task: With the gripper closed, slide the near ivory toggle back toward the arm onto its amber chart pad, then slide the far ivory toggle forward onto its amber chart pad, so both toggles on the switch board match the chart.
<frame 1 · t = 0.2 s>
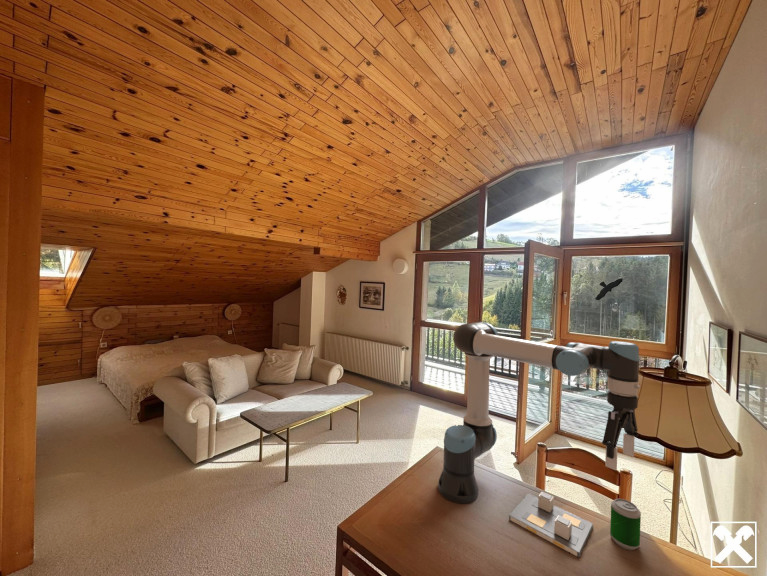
hand: (619, 461, 99), 27 cm above the table, fingers open, 13 cm apart
slider far: (545, 501, 114), point 4 cm above the table, slide at 0.0 cm
slider near: (563, 526, 101), point 4 cm above the table, slide at 8.0 cm
switch board: (550, 523, 108), on the table
soda can: (624, 542, 101), on the table
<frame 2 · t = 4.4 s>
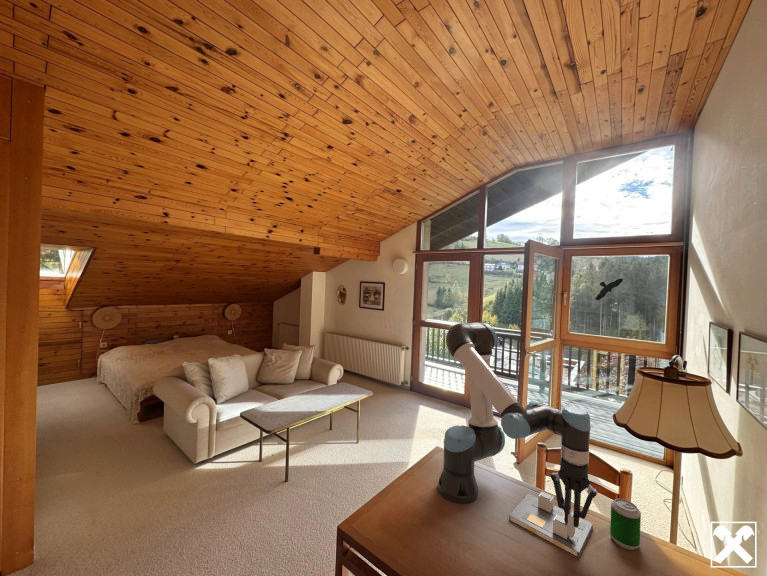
hand: (571, 534, 100), 3 cm above the table, fingers closed
slider near: (561, 526, 102), point 4 cm above the table, slide at 7.6 cm, touching gripper
everything else where it was.
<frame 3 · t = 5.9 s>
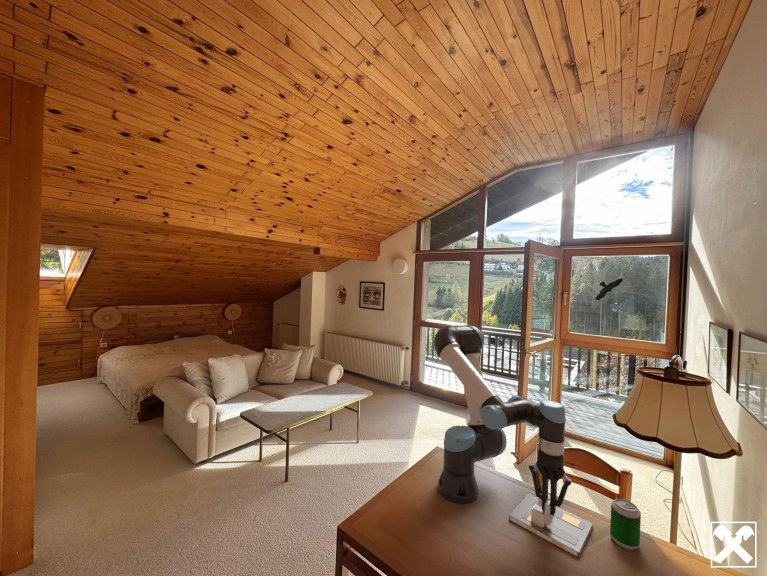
hand: (548, 522, 105), 3 cm above the table, fingers closed
slider near: (539, 515, 107), point 4 cm above the table, slide at 0.8 cm
everything else where it was.
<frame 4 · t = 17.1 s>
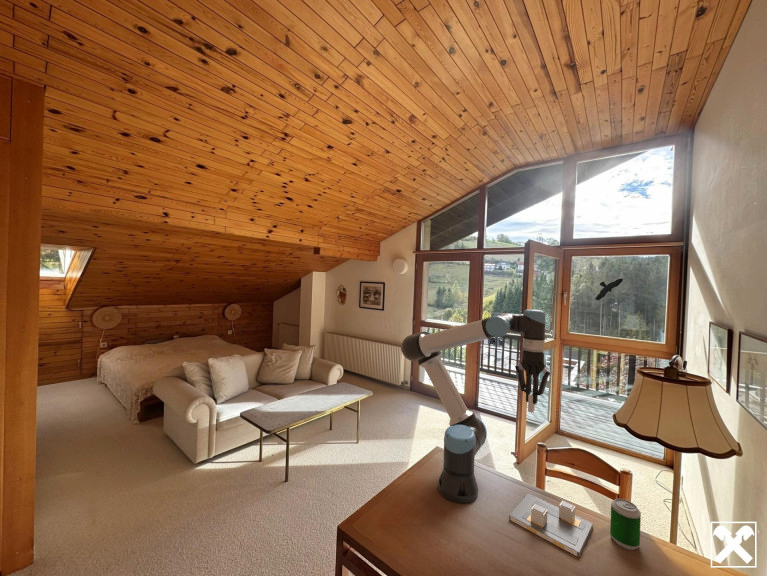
hand: (531, 411, 123), 32 cm above the table, fingers closed
slider far: (566, 511, 109), point 4 cm above the table, slide at 6.7 cm
everything else where it was.
at the end: slider near slide at 0.8 cm; slider far slide at 6.7 cm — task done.
